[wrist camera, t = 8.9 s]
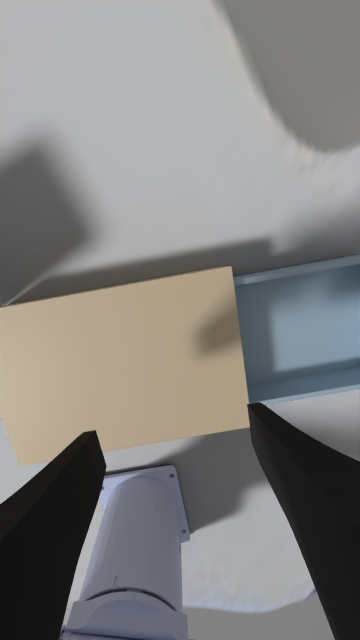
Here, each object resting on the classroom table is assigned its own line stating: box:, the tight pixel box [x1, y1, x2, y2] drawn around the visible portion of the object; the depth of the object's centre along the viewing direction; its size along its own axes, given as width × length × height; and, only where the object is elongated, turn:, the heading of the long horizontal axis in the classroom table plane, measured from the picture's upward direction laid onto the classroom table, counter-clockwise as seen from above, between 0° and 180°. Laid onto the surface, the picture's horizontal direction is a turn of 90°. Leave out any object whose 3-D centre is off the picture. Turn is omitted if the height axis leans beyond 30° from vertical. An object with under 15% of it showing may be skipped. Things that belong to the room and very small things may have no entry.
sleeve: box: [0, 266, 250, 466], centre depth 19 cm, size 12×18×4 cm, turn 100°
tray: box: [233, 254, 360, 405], centre depth 19 cm, size 10×17×3 cm, turn 100°
